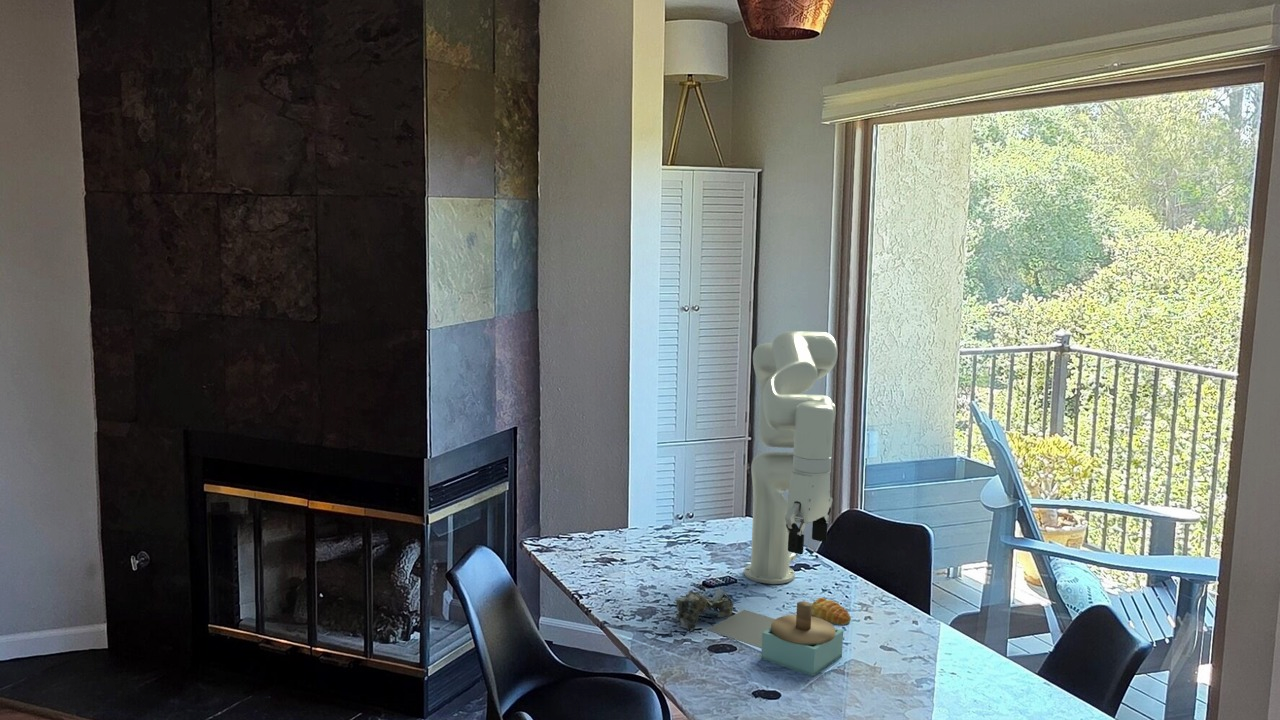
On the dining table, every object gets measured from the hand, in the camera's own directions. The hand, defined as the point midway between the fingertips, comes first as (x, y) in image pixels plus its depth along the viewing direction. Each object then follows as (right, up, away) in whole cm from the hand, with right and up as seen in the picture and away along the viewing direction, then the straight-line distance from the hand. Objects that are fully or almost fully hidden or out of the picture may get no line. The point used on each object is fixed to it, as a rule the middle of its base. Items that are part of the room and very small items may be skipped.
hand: (807, 546), depth 208 cm
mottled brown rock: (-20, -21, +22) cm, 36 cm away
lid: (0, -18, +3) cm, 18 cm away
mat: (-9, -21, +17) cm, 29 cm away
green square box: (-1, -24, +4) cm, 24 cm away
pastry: (+9, -21, +26) cm, 34 cm away
